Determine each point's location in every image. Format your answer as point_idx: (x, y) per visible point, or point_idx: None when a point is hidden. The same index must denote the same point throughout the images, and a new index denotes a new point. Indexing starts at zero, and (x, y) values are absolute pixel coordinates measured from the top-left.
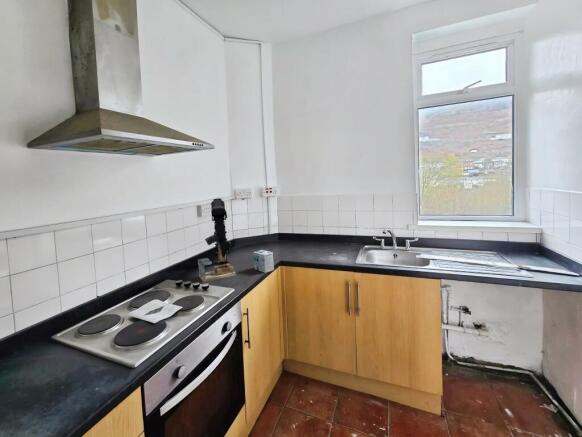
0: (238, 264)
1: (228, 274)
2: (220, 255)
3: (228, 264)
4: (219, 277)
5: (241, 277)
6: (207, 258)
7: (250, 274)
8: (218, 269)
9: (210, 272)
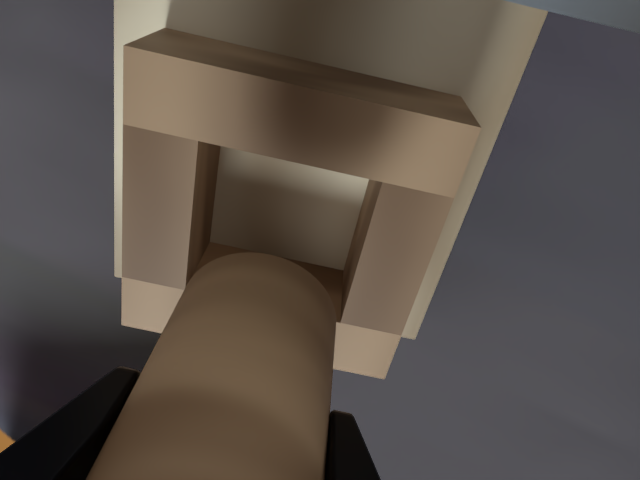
0: (508, 462)
1: (116, 178)
2: (162, 386)
3: (337, 348)
4: (122, 18)
5: (2, 255)
6: (633, 8)
7: (48, 362)
8: (182, 89)
9: (475, 8)
